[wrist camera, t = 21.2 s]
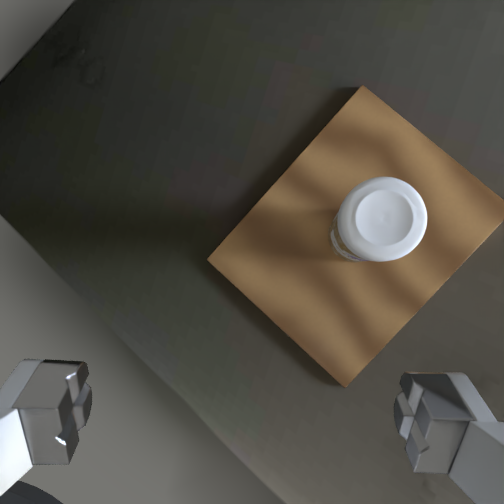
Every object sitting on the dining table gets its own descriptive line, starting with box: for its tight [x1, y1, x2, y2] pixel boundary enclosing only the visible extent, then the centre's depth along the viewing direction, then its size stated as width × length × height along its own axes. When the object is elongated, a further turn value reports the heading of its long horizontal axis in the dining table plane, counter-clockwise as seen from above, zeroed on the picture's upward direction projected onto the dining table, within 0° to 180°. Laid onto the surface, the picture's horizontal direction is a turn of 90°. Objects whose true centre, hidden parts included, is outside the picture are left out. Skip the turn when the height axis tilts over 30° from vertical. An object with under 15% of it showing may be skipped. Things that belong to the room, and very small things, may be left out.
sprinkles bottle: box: [328, 177, 427, 262], centre depth 29 cm, size 5×5×14 cm
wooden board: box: [207, 85, 504, 388], centre depth 36 cm, size 20×16×1 cm
